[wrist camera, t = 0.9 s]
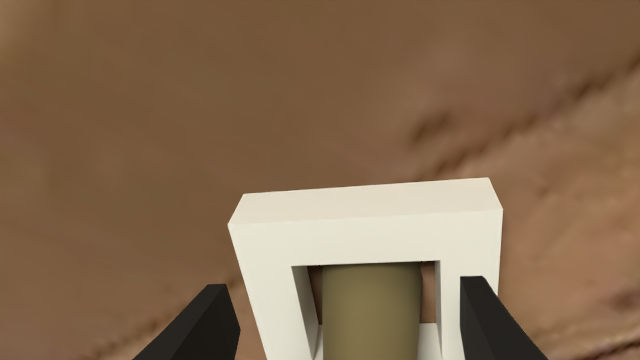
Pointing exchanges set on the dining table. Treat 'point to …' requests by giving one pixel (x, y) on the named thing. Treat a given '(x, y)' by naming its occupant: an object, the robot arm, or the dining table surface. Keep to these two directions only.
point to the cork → (371, 311)
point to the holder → (363, 252)
